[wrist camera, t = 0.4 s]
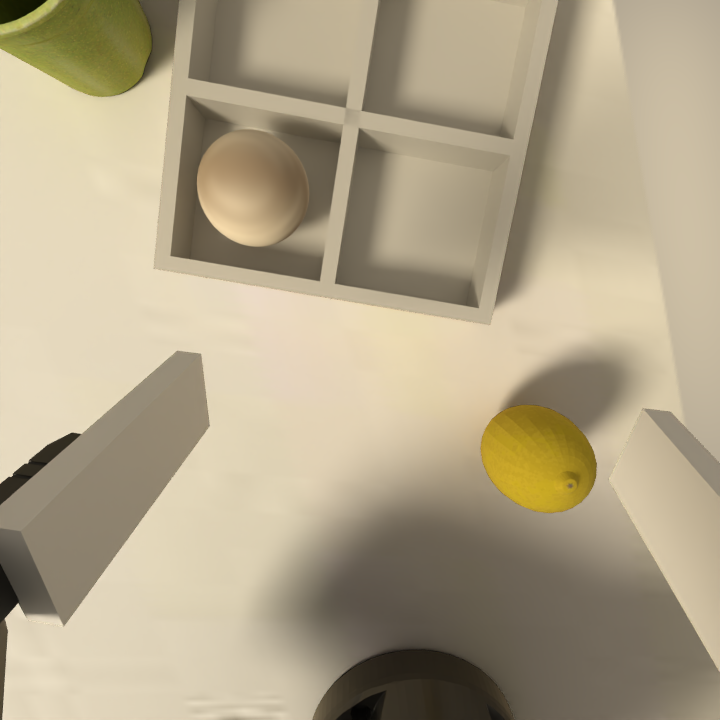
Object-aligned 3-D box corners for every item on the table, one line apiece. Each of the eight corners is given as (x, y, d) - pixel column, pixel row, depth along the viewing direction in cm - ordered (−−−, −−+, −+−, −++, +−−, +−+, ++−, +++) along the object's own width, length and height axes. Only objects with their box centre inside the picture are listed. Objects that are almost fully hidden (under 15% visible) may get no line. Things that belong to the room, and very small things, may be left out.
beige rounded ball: (306, 259, 25) (293, 247, 19) (212, 243, 24) (171, 227, 19) (320, 162, 24) (311, 120, 18) (223, 144, 24) (184, 96, 18)
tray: (471, 321, 26) (490, 325, 23) (180, 272, 25) (153, 268, 22) (536, 4, 24) (567, -46, 20) (215, -62, 23) (191, -126, 19)
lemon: (549, 389, 27) (631, 426, 19) (547, 470, 28) (626, 537, 20) (465, 394, 27) (512, 433, 19) (466, 475, 28) (512, 544, 20)
